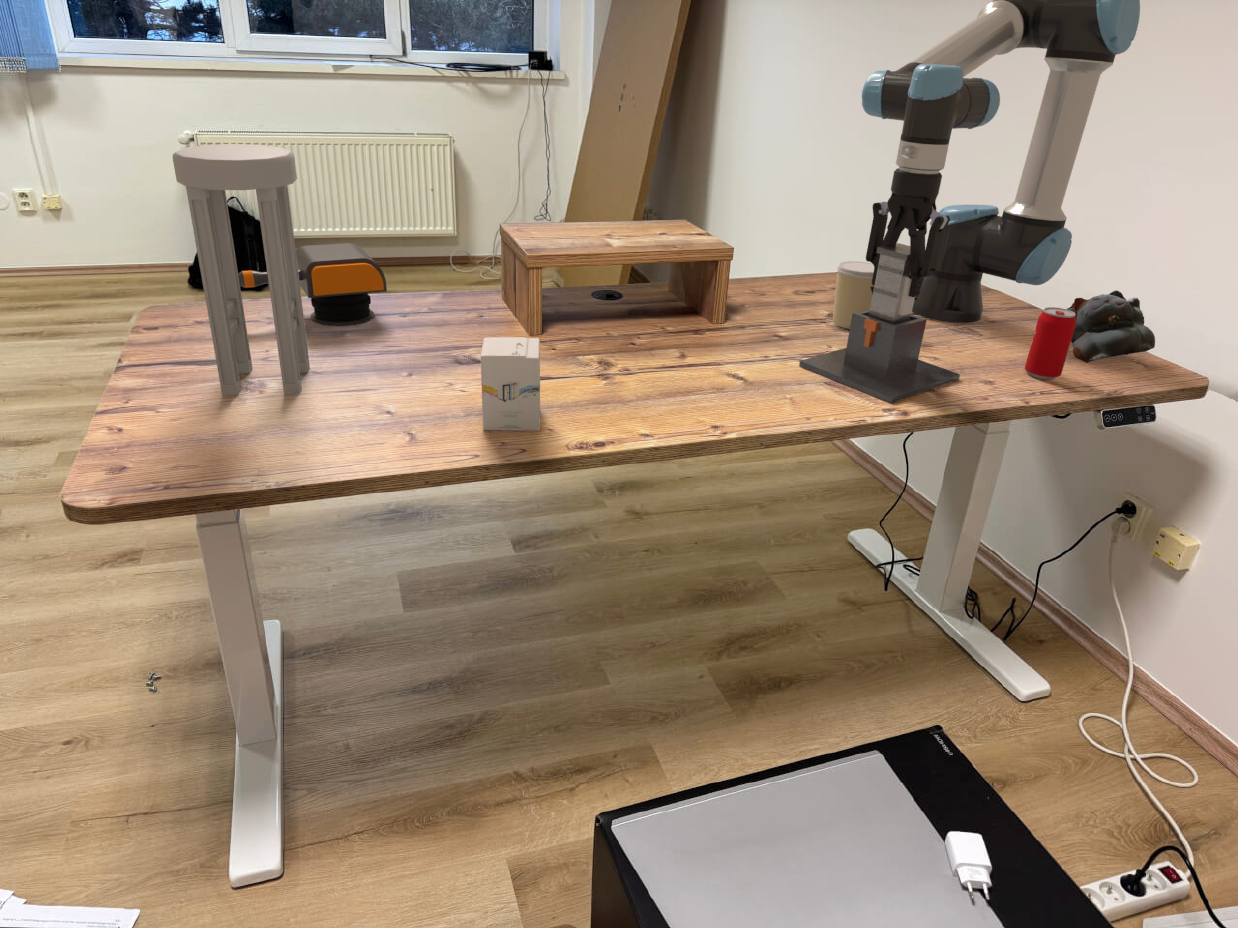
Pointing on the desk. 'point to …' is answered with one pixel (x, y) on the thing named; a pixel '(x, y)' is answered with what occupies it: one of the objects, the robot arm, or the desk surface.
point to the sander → (333, 282)
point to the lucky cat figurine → (1109, 327)
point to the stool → (206, 185)
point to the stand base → (882, 360)
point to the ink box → (510, 383)
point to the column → (891, 283)
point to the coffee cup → (852, 291)
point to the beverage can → (1050, 343)
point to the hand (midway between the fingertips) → (891, 309)
